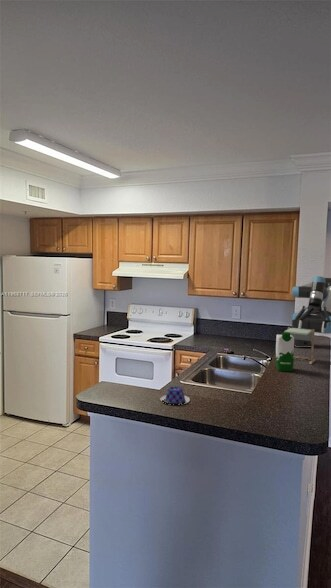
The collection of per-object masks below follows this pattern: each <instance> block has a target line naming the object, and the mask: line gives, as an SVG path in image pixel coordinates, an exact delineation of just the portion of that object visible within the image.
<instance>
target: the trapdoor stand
mask: <svg viewBox="0 0 331 588" xmlns="http://www.w3.org/2000/svg"><path fill="white" fill-rule="evenodd" d="M290 328H291V326H288V327H287V330H288V329H290ZM314 330H315V329H312V347H311V348H310V350H311V351H310V352H311V353H310V357H305V356H298V355H294V357H296V358H302V359H301V360H303V359H308V360H307V361H309V364H311V365H312V364H313V363H314V362H315V361H316V359H315V358H314V355H315V354H314V351H315V350H314V349H315V332H314ZM296 358H295V359H296ZM310 360H311V361H310Z"/></svg>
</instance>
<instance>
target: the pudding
mask: <svg viewBox="0 0 331 588" xmlns="http://www.w3.org/2000/svg"><path fill="white" fill-rule="evenodd" d="M164 399H165V402H166V401H167V403H168V402H170V403H179V404H178V405H179V406H180V404H182V403H183V402H185V403H184V404H183V405H185V404H188V403H189V402H190V401H191V399H190V397H189V396H187V395H185V394H184V389H183V388H182V387H181V386H170V387H168V388H167V391H166V395H165V394H164V395H162V396H161V397H160V398H159V400H160V401H161V402H162V400H164ZM173 405H174V404H173ZM173 405H172V406H173ZM178 405H177V406H178Z"/></svg>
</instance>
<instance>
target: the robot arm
mask: <svg viewBox="0 0 331 588" xmlns="http://www.w3.org/2000/svg"><path fill="white" fill-rule="evenodd" d="M291 295H292V297H293V298H299V299H301V298H302V299H308V305H307V306H305V305H302V308H301V309H300V311H299V312H294V313H293V314H292V319H291V321H292V322H291V328H301V329H315V330H314V333H316V334H317V333H318V334H322V335H323V334H325V335H326V334H327V335H328V334H329V335H330V334H331V277H324V276H321V275H316V276H314V277H312V280H311V281H310V282H308V283H306V284H304V285H300V286H299V285H298V286H293V287H292V289H291ZM294 345H296V346H312V341H306V340H297V339H294Z"/></svg>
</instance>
